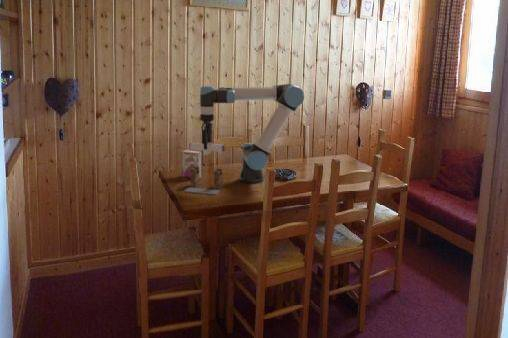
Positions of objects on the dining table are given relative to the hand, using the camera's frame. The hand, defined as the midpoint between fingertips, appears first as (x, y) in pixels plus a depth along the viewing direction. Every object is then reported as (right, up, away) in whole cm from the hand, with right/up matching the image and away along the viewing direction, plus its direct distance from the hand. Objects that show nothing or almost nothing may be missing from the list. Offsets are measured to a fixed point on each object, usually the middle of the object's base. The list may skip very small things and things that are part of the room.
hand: (207, 154), depth 291 cm
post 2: (+6, -19, +3) cm, 21 cm away
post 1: (-8, -18, +6) cm, 21 cm away
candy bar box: (-12, -14, +24) cm, 30 cm away
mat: (-2, -21, -6) cm, 22 cm away
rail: (0, +2, -1) cm, 2 cm away
